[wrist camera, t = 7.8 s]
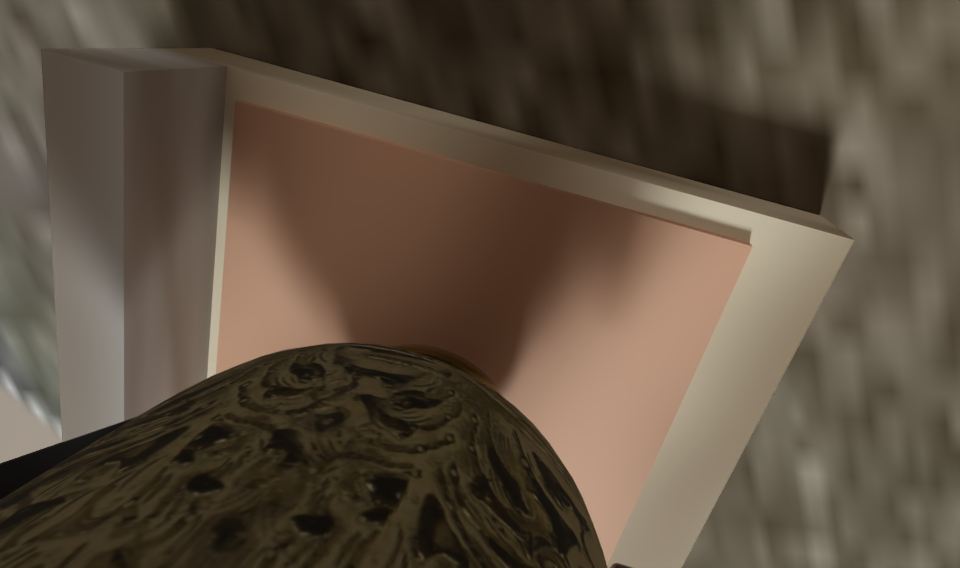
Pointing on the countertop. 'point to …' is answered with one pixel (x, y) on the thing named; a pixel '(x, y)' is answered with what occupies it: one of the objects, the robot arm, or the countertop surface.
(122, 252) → the cream shallow open box
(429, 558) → the dark brown rounded vessel
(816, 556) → the countertop surface
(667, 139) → the countertop surface
